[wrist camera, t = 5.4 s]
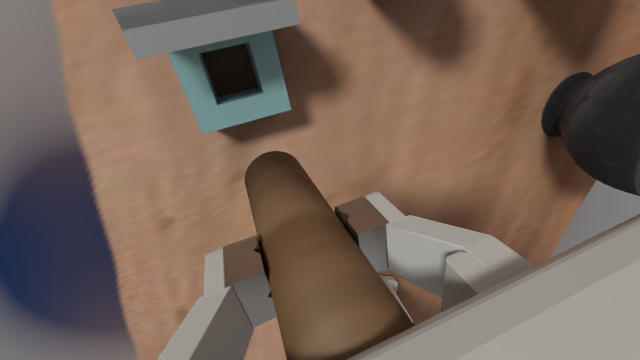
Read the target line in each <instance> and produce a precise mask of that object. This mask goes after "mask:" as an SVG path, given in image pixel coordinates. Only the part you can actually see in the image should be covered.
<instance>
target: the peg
mask: <svg viewBox="0 0 640 360" xmlns="http://www.w3.org/2000/svg"><path fill="white" fill-rule="evenodd" d="M245 185H246V189H247V194H248V198H249V202H250V206H251V210H252V215H253V219H254V223H255V227H256V231H257V235H258V240H259V242H260V246H261V250H262V254H263V261H264V264H265V267H266V271H267V275H268V279H269V284H270V290H271V294H272V298H273V303H274V307H275V311H276V315H277V319H278V323H279V328H280V332H281V336H282V340H283V344H284V349H285V353H286V357H287V360H347V359H349V358H351V357H353V356H355V355H357V354H359V353H361V352H363V351H365V350H367V349H369V348H371V347H373V346H375V345H377V344H379V343H381V342H383V341H385V340H387V339H389V338H391V337H393V336H395V335H397V334H399V333H401V332H403V331H405V330H407V329H409V328H411V327H413V326H415V325H414V324H413V322H412V321H411V319H410V318H409V317H408V315H407V314H406V312H405V311H404V310H403V308H402V307H401V305H400V304H399V303H398V301H397V300H396V298H395V297H394V295H393V294H392V293H391V291H390V290H389V288H388V287H387V286H386V284H385V283H384V281H383V280H382V279H381V277H380V276H379V274H378V273H377V272H376V270H375V269H374V267H373V266H372V265H371V263H370V262H369V260H368V259H367V258H366V256H365V255H364V253H363V252H362V251H361V249H360V248H359V246H358V245H357V244H356V242H355V241H354V239H353V238H352V236H351V235H350V234H349V232H348V231H347V229H346V228H345V227H344V225H343V224H342V222H341V221H340V220H339V218H338V217H337V215H336V214H335V213H334V211H333V210H332V208H331V207H330V206H329V204H328V203H327V201H326V200H325V199H324V197H323V196H322V194H321V193H320V192H319V190H318V189H317V187H316V186H315V184H314V183H313V182H312V180H311V179H310V177H309V176H308V175H307V173H306V172H305V170H304V169H303V168H302V166H301V165H300V163H299V162H298V161H297V160H296V158H294V157H293V156H292V155H290V154H288V153H285V152H281V151H272V152H267V153H264V154H262V155H260V156H258V157H257V158H256V159H255V160H253V161H252V163H251V164H250V165H249V167H248V169H247V171H246V174H245Z"/></svg>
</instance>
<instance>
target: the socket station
mask: <svg viewBox="0 0 640 360" xmlns="http://www.w3.org/2000/svg"><path fill="white" fill-rule="evenodd" d="M112 10H113V12H114V14H115V16H116V18H117V20H118V22H119V24H120V27H121V29H122V31H123V33H124V35H125V37H126V39H127V41H128V43H129V45H130V47H131V49H132V51H133V53H134V55H135V57H136V60H137V59H141V58H146V57H150V56H155V55H160V54H164V53H168V54H169V57H170V59H171V61H172V64H173V66H174V68H175V71H176V73H177V75H178V78H179V80H180V82H181V85H182V87H183V90H184V92H185V94H186V97H187V99H188V101H189V104H190V106H191V108H192V111H193V113H194V115H195V118H196V120H197V122H198V125H199V127H200V129H201V132H202V134H206V133H209V132H213V131H217V130H220V129H224V128H227V127H231V126H235V125H238V124H242V123H245V122H249V121H253V120H256V119H260V118H263V117H267V116H271V115H274V114H278V113H281V112H285V111H289V110H291V106H290V102H289V98H288V94H287V90H286V85H285V81H284V77H283V73H282V69H281V65H280V61H279V56H278V52H277V48H276V44H275V40H274V36H273V31H272V30H275V29H280V28H284V27H289V26H294V25H298V24H300V21H299V16H298V11H297V6H296V0H161V1H156V2H150V3H145V4H139V5H134V6H128V7H123V8H117V9H112ZM244 43H245V44H246V47H247V50H248V54H249V57H250V61H251V64H252V68H253V71H254V75H255V78H256V81H257V85H258V87H255V88H251V89H247V90H243V91H239V92H235V93H231V94H227V95H223V96H219V97H217V95H216V92H215V89H214V87H213V84H212V81H211V78H210V76H209V73H208V70H207V68H206V65H205V62H204V60H203V57H202V54H201V53H203V52H208V51H212V50H217V49H221V48H226V47H231V46H235V45H240V44H244Z"/></svg>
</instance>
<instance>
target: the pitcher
mask: <svg viewBox="0 0 640 360" xmlns="http://www.w3.org/2000/svg"><path fill="white" fill-rule="evenodd" d="M542 127H543V130H544V132H545V133H547V135H549V136H551V137H557V136H562V139H563V142H564V144H565V146H566V148H567V150H568V152H569V154H570V155H571V157H572V158H573V160H574V161H575V162H576V164H577V165H578V166H579V167H580V168H581V169H582V170H584V171H585V172H586V173H587V174H589V175H590V176H592V177H593V178H595V179H596V180H598V181H600V182H602V183H604V184H606V185H609V186H611V187H613V188H616V189H619V190H622V191H625V192H628V193H631V194H635V195H638V196H640V54H638V55H635V56H632V57H629V58H626V59H624V60H622V61H620V62H618V63H616V64H614V65H612V66H610V67H608V68H606V69H604V70H602V71H601V72H599V73H597V74H596V75H594V76H593V75H592V74H590V73H587V72H582V73H577V74H575V75H572V76H569V77H568V78H566V79H565V80H563V81H562V82H561V83H560V84H559V85H558V86H557V87H556V88H555V90H554V91H553V92H552V94H551V95H550V97H549V99H548V101H547V103H546V105H545V108H544V111H543V115H542Z"/></svg>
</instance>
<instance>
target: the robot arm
mask: <svg viewBox="0 0 640 360" xmlns="http://www.w3.org/2000/svg"><path fill="white" fill-rule="evenodd" d="M335 214H336V215H337V217H338V218H339V220H340V221H341V222H342V224H343V225H344V227H345V228H346V229H347V231H348V232H349V234H350V235H351V236H352V238H353V239H354V241H355V242H356V244H357V245H358V246H359V248H360V249H361V251H362V252H363V253H364V255H365V256H366V258H367V259H368V260H369V262H370V263H371V265H372V266H373V267H374V269H375V270H376V272H377V273H378V274H379V272H382V271H384V270H387V269H389V270H390V271H391V272H393V273H395V274H397V275H399V276H401V277H403V278H405V279H407V280H409V281H411V282H413V283H414V284H416V285H418V286H420V287H422V288H424V289H426V290H428V291H430V292H432V293H434V294H436V295H437V296H439V297H441V298H442V308H441V313H439V314H437V315H435V316H433V317H431V318H429V319H427V320H425V321H423V322H421V323H419V324H417V325H415V326H413V327H411V328H409V329H407V330H405V331H403V332H401V333H399V334H397V335H395V336H393V337H391V338H389V339H387V340H385V341H383V342H381V343H379V344H377V345H375V346H373V347H371V348H369V349H367V350H365V351H363V352H361V353H359V354H357V355H355V356H353V357H351V358H349V359H347V360H640V214H639V215H637V216H635V217H633V218H631V219H629V220H627V221H625V222H623V223H621V224H619V225H617V226H615V227H613V228H611V229H608V230H607V231H605V232H602V233H600V234H598V235H596V236H594V237H592V238H590V239H589V240H586V241H584V242H582V243H580V244H578V245H576V246H574V247H572V248H570V249H568V250H566V251H565V252H562V253H560V254H558V255H556V256H554V257H552V258H550V259H548V260H546V261H544V262H542V263H540V264H538V265H536V266H534V265H533V264H531V263H530V262H529V261H527V260H526V259H524V258H523V257H522V256H520V255H519V254H517V253H516V252H514V251H513V250H512V249H510V248H509V247H507V246H506V245H505V244H503V243H502V242H500V241H499V240H497V239H496V238H495V237H493V236H491V235H487V234H483V233H479V232H476V231H472V230H468V229H464V228H460V227H456V226H452V225H448V224H444V223H440V222H436V221H432V220H428V219H424V218H420V217H416V216H412V215H408V216H405V215H404V214H403V213H402V212H400V211H399V210H398V209H397V208H396V207H395V206H394V205H393V204H392V203H390V202H389V201H388V200H387V199H386V198H385V197H384V196H383V195H382V194H380V193H379V192H377V191H374V192H372V193H369V194H367V195H364V196H362V197H360V198H358V199H355V200H352V201H350V202H347V203H344V204H342V205H339V206H336V207H335ZM379 276H380V277H381V279H382V280H383V281H384V283H385V284H386V286H387V287H388V288H389V290H390V291H391V293H392V294H393V295H394V297H395V298H396V300H397V301H398V303H399V304H400V305H401V307H402V308H403V310H404V311H405V312H406V314H407V315H408V317H409V318H410V319H411V317H410V316H409V314H408V312H407V311H406V309H405V308H404V306H403V304H402V303H401V301H400V299H399V298H398V296H397V295H396V292H397V287H398V282H397V280H396V279H395V277H393V276H383V275H381V274H379ZM275 317H277V315H276V311H275V307H274V303H273V298H272V294H271V290H270V284H269V279H268V275H267V271H266V267H265V264H264V261H263V254H262V250H261V246H260V242H259V240H258V237H257V235H256V236H253V237H250V238H247V239H244V240H241V241H238V242H235V243H232V244H229V245H226V246H224V247H221V248H218V249H215V250H213V251H210V252H207V253H206V255H205V277H204V296H203V297H201V298H199V299H198V300H197V301H196V303H195V304H194V306H193V307H192V309H191V310H190V312H189V313H188V315H187V316H186V318H185V319H184V321H183V322H182V324H181V325H180V327H179V328H178V330H177V331H176V333H175V334H174V336H173V337H172V339H171V340H170V342H169V343H168V344H167V346H166V347H165V349H164V350H163V352H162V353H161V355H160V356H159V358H158V359H157V360H243V359H244V356H245V353H246V351H247V348H248V345H249V342H250V339H251V336H252V333H253V330H254V329H253V327H256V326H258V325H260V324H262V323H264V322H266V321H268V320H271V319H273V318H275ZM411 321H412V319H411ZM412 322H413V321H412Z"/></svg>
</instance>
